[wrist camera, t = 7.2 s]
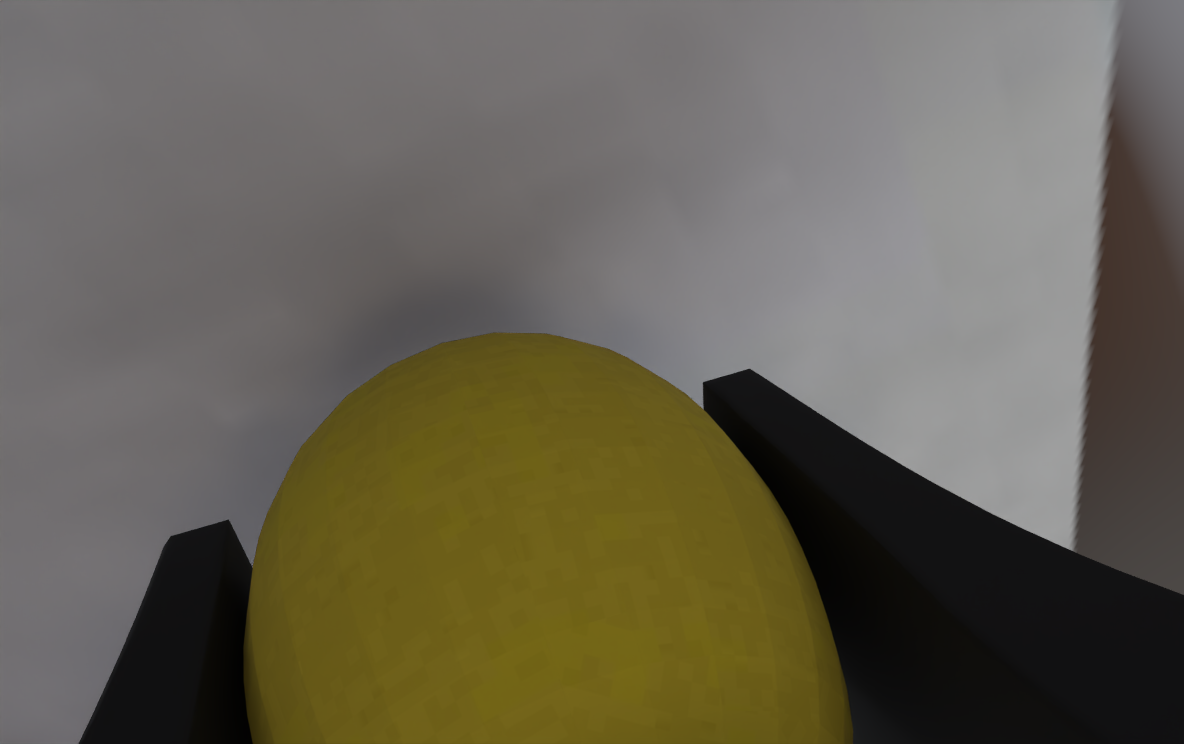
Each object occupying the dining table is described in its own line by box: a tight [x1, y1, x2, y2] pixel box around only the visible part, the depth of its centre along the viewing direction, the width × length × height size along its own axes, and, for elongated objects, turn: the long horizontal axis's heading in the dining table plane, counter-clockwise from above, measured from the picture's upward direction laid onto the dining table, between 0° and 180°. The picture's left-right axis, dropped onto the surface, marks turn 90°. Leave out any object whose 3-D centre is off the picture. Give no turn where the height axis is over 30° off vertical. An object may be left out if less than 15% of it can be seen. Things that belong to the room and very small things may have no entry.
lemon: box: [243, 333, 853, 744], centre depth 9 cm, size 6×6×8 cm
